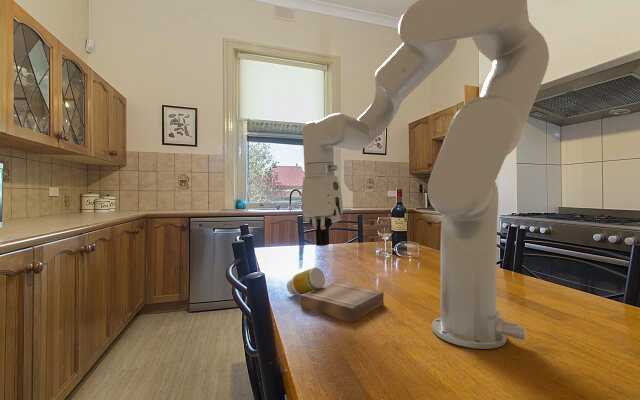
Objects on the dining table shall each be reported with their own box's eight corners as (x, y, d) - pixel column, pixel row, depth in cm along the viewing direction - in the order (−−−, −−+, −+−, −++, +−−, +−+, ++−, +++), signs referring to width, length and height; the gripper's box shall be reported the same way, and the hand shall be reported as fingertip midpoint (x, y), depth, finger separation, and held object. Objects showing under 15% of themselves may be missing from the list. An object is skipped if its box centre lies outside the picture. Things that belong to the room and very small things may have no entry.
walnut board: (383, 304, 75) (383, 291, 75) (351, 322, 64) (351, 307, 64) (336, 293, 84) (336, 282, 84) (301, 308, 73) (301, 294, 73)
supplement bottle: (308, 269, 77) (281, 280, 82) (315, 290, 76) (288, 300, 81) (320, 264, 81) (295, 275, 87) (328, 284, 80) (301, 294, 86)
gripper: (352, 169, 77) (356, 244, 76) (306, 175, 86) (309, 242, 86) (334, 167, 71) (338, 248, 70) (287, 174, 80) (290, 245, 80)
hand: (322, 245), depth 78 cm, fingers closed
